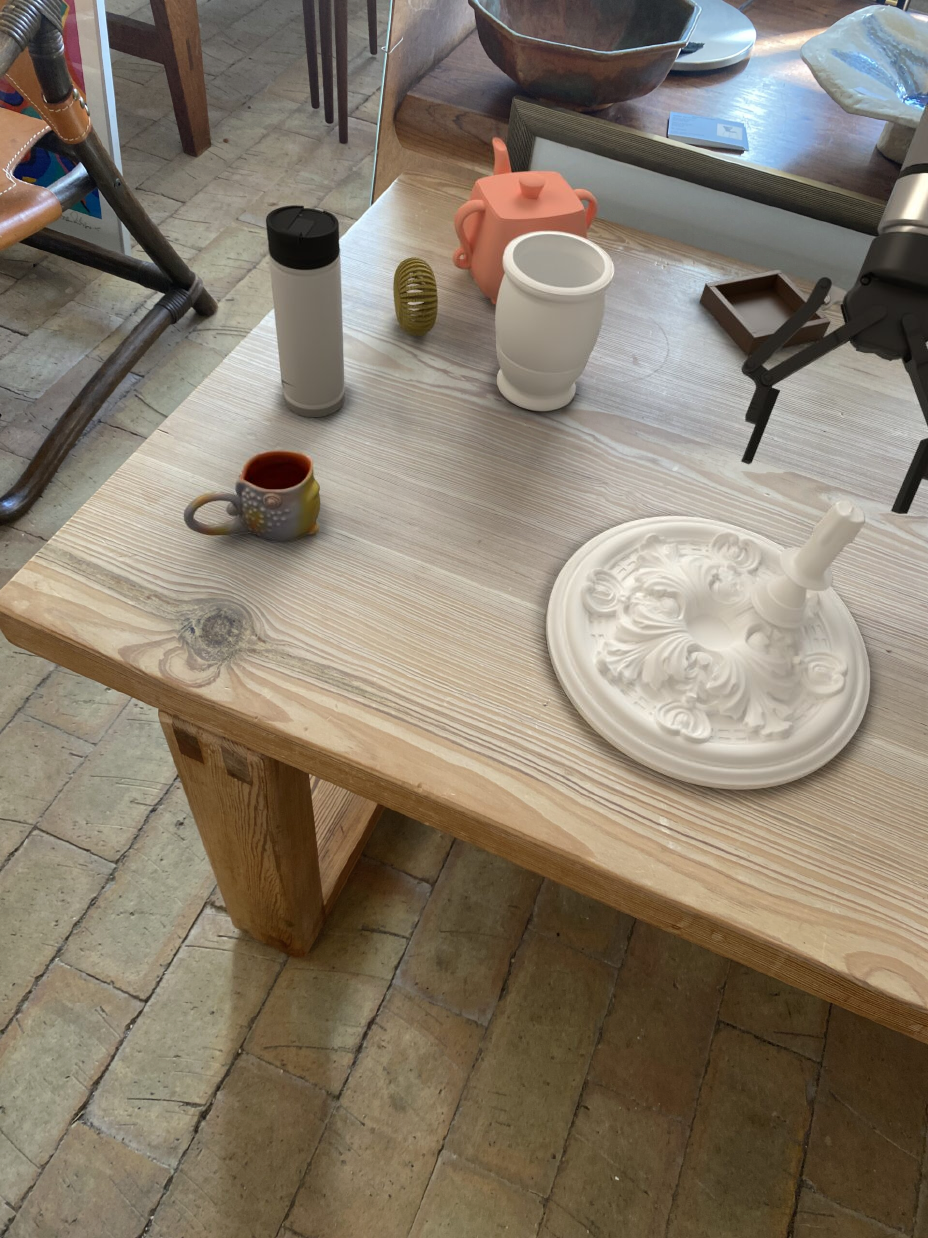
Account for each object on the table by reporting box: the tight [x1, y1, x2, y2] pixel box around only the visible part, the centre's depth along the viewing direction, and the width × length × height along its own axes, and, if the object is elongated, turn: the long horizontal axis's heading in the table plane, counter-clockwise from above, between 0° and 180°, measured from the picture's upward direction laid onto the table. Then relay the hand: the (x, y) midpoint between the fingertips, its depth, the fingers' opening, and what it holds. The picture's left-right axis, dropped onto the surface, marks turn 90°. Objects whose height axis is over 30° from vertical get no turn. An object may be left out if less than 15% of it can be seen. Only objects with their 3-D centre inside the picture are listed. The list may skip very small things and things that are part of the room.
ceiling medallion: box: [545, 515, 871, 791], centre depth 78 cm, size 28×28×3 cm
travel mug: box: [265, 204, 346, 418], centre depth 85 cm, size 6×7×20 cm
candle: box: [750, 500, 866, 629], centre depth 74 cm, size 5×5×12 cm
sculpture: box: [392, 256, 439, 337], centre depth 98 cm, size 8×4×8 cm, turn 13°
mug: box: [183, 449, 321, 543], centre depth 80 cm, size 12×7×7 cm, turn 113°
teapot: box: [452, 137, 599, 306], centre depth 103 cm, size 15×17×13 cm
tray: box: [699, 269, 832, 357], centre depth 107 cm, size 11×11×2 cm
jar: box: [494, 231, 615, 412], centre depth 91 cm, size 11×10×15 cm
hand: (821, 487), depth 80 cm, fingers open, 13 cm apart
